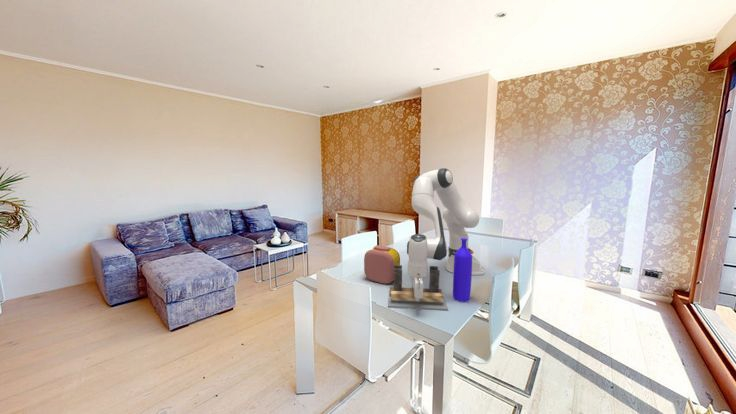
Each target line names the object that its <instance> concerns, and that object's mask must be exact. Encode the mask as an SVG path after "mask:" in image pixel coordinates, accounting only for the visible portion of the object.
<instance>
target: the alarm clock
mask: <svg viewBox="0 0 736 414" xmlns="http://www.w3.org/2000/svg"><path fill="white" fill-rule="evenodd" d="M363 260H364V261H363V263H364V264H363V265H364V266H363V269H364V271H363V272H364V275H365V277H366V278H367V279H368V280H369V281H372V282H375V283H380V284H385V285H386V284H387V285H388V284H390V283H392V282H394V265H401V256H400V253H399V252H398V250H397V249H395V248H393V247H390V246H385V245H378V244H377V245H374V246H373V247H372V248H371V249H369V250H367V251H366V253H364V258H363Z"/></svg>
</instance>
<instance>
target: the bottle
mask: <svg viewBox="0 0 736 414" xmlns="http://www.w3.org/2000/svg"><path fill="white" fill-rule="evenodd" d="M461 240H462V246H461V248H460V249H459V250H458V251H457V252H456V253H455V257H454V273H452V274H453V275H452V276H453V277H452V278H453V279H452V298H453V299H454V300H455V301H457V302H460V303H465V302H468V301H470V298H471V292H472V291H471V290H472V276H473V275H472V255H473V254H471V253H470V251H469V250H468V249H467V247H466V241H467V240H468V241H469V239H466V238H461Z"/></svg>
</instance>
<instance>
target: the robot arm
mask: <svg viewBox="0 0 736 414" xmlns="http://www.w3.org/2000/svg"><path fill="white" fill-rule="evenodd" d="M434 192H436V194H437V197H438V199H439V200H440V201H441V204H442V206H443V207H444V209H443V210H442V214H441V209H440V207H439V206H436V203H435V201H434V196H435V195H434ZM411 207H412V210H414V212H416V213H417V214H418V215H420V216H422V217H425V218H428V219H429V220H430V221H432V222H433V226H434V230H435V231H434V232H435V238H431V237H430V238H428V237H427V236H426V235H424V234H421V233H415V234H412V235H411V236H410V237H409V240H408V242H407V243H406V254H407V255H408V262H407V274H408V275H409V276H410V278H411V279H412V288H413V289H414V297H415V300H416V301H419V300H420V299H422V298H423V288H424V279H425V277H426V276H428V264H429V263H428V259H429V260H430V259H431V260H436V261H437V260H438V261H442V260H443V259H444V258H446V257H447V256H448V257H447V262H446V266H445V270H446V271H447V272H450V273H452V274H453V273H454V257H455V253H456V252H457V251H458V250H459V249H460V248H461V246H462V240H461V238H466V239H468V240H467V241H466V247H467V249H468V250H469V251H470V253H471V254H472V276H475V275H477V276H479V275H480V276H481V275H485V270H484V269H483V267H481V263H480V261H479V259H478V258H476V257H475V256H474V255H473V254H475V252H474V250H472V249H471V248H470V247H469V235H468V234H469V233H467V232H466V229H474V228H476V227H477V226H478V224H479V223H480V222H479V221H480V216H479V214H478V213H477V212H476V211H475V210H473V209H472V208H471V207H470V206H469V205H468V204H467V203H466V201H465V200H464V199H463V198H462V196H461V194H460V192H459V190H458V189H457V186H456V185H455V182H453V174H452V171H451V170H449V169H448V168H445V167H442V168H439V169H433V170H430V171H427V172H424V173H422V174H419V175H417V176H415V177H414V180H413V186H412V192H411ZM442 219H443V220H444V222H445V224H446V226H447V229H448V237H449V238H448V239H449V242H448V243H449V246H447V245H448V244H447V242H446V239H445V238H446V237H445V231H444V224H443V220H442Z"/></svg>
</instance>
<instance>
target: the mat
mask: <svg viewBox="0 0 736 414" xmlns="http://www.w3.org/2000/svg"><path fill="white" fill-rule="evenodd" d="M389 307H394V308H393V309H408V308H410V309H411V308H412V309H411V310H413V309H414V310H431V311H449V308H448V305H447V301H446V300H445V299H444V302H425V301H405V300H391V297H388V298H387V308H389Z"/></svg>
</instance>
